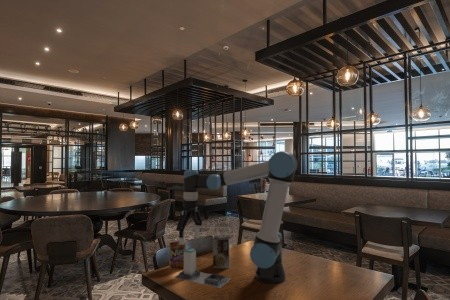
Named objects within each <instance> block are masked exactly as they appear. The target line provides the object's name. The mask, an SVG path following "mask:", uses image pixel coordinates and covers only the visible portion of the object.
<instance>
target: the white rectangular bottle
mask: <svg viewBox="0 0 450 300" xmlns="http://www.w3.org/2000/svg"><path fill="white" fill-rule="evenodd" d="M196 270H197V251H196V248H190V247H188V248H186V250H185V252H184V269H183V271H184V274H188V275H192V274H194V273H196Z"/></svg>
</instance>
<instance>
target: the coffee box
mask: <svg viewBox="0 0 450 300" xmlns="http://www.w3.org/2000/svg"><path fill="white" fill-rule="evenodd" d="M230 240H231V239H230V236H214V237H213V239H212V268H213V269H228V270H229V269H230V266H231V263H230V260H231V259H230V257H231V256H230V249H231V248H230V247H231V246H230V242H231V241H230Z"/></svg>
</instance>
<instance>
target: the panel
mask: <svg viewBox="0 0 450 300" xmlns="http://www.w3.org/2000/svg"><path fill="white" fill-rule="evenodd" d="M174 278H176V279H179V280H184V281H189V282H192V283H196V284H200V285H201V284H202V285H206V286H210V287H214V288H216V289H218V290H220V289H221V288H222V287H223V286H224V285H226V284H227V283H228V282H229V281H231V278H230V277H226V276H225V275H221V274H215V273H206V272H202V271H200V270H197V269H196V273H194V274H192V275H188V274H184V270H182V271H180V272H179V273H178V274H177V275H175V276H174Z"/></svg>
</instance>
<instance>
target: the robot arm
mask: <svg viewBox="0 0 450 300" xmlns="http://www.w3.org/2000/svg"><path fill="white" fill-rule="evenodd" d="M298 167H299V162H298V158H297V157H296V156H295V154H293V153H291V152H289V151H282V150H281V151H277V152H275V153H274V154H272V155H271V157H270V158H269V159H268V160H267V161H262V162H259V163H255V164H251V165H247V166H243V167H239V168H235V169H231V170H226V171H223V172H218V173H212V174H209V173H208V174H207V173H206V174H203V173H202V174H201V173H199V171H198V170H196V169H186V170H184V172H183V201H182V206H183V208H184V210H180V215H179V219H178V222H177V225H176V228H175V230H176V231H177V232H178V238H179V244H183V245H184V244H185V240H186V239H185V238H186V237H185V236H186V235H185V234H186V233H185V232H186V231H185V228H186V226H187V224H188V222H189V220H190V219H192V221H193V222H194V224H195V225H194V229H193V233H194V235H193V238H195V239H200V226H202V224H203V220H202V217H201V216H202V215H201V213H200V207H199V206H198V203H199V202H198V199H199V190H201V189H203V190H211V191H212V190H220V188H221V187H225V186H226V187H227V186H229V185H234V184H239V183H243V182H248V181H252V180H256V179H261V178H265V177H267V179H268V180H269V184H268V185H269V186H268V189H267V190H268V191H267V194H266V200H265V205H264V209H263V214H262V219H261V224H260V227H259V228H260V229H259V231H258V232H256V233H255V237H254V241H253V245H252V246H251V248H250V251H249V257H250V260H251V262H252V263H253V265H255V266H256V270H255V278H256V279H257V280H258V281H260V282H263V283H266V284H280V283H283V282H285V280H286V279H287V278H286V275H287V274H286V271H285V268H284V265H283V235H282V233H281V232H280V227H281V222H282V217H283V214H284V208H285V203H286V198H287V193H288V189H289V186H290V185H291V184H293V183H294V177H295V172H297V169H298Z"/></svg>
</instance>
